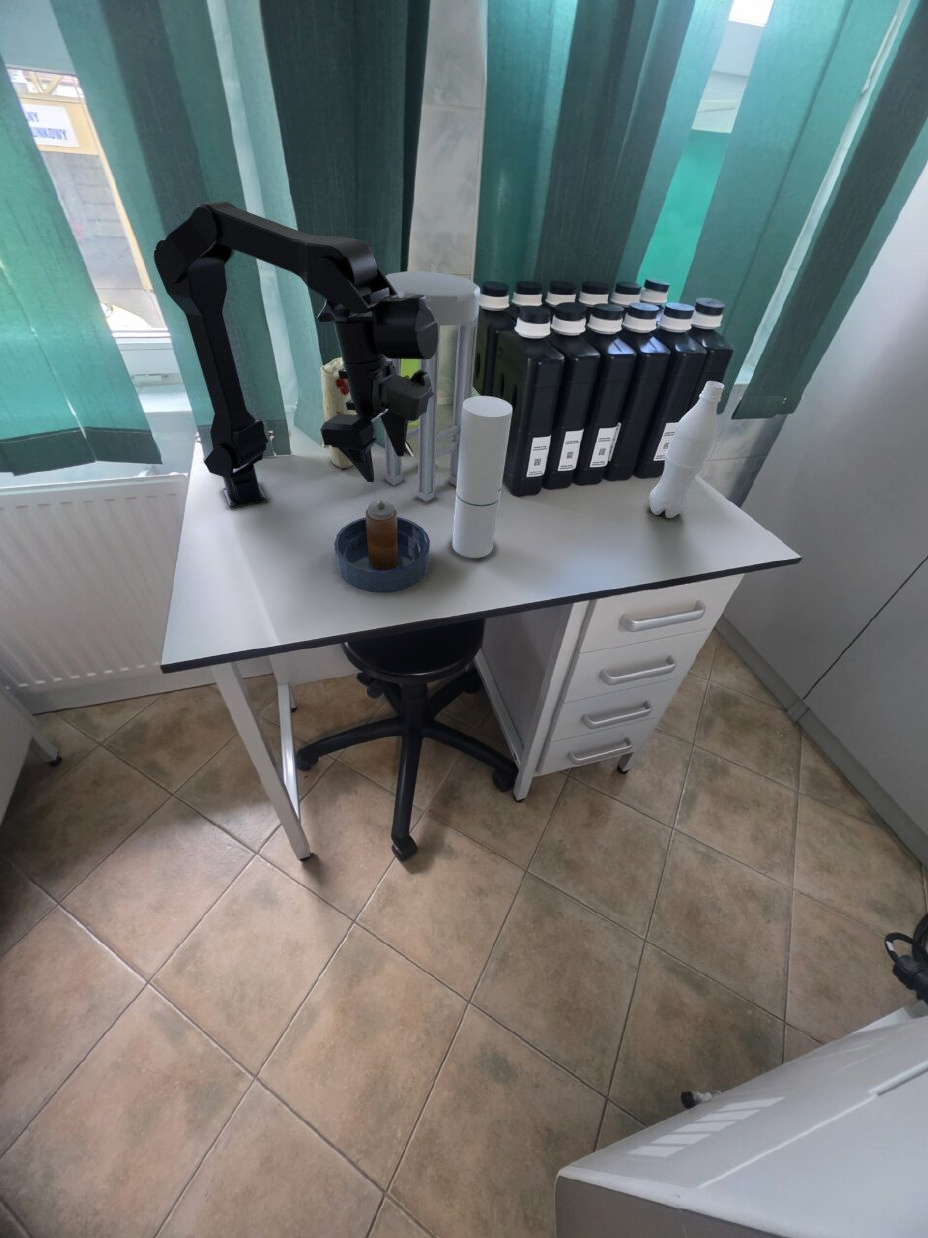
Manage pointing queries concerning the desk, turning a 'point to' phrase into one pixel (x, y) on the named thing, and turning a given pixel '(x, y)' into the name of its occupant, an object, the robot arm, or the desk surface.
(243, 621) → the desk surface
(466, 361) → the stool
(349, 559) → the bowl
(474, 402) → the cylindrical container
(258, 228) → the robot arm
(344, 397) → the food model
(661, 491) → the water bottle
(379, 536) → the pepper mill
